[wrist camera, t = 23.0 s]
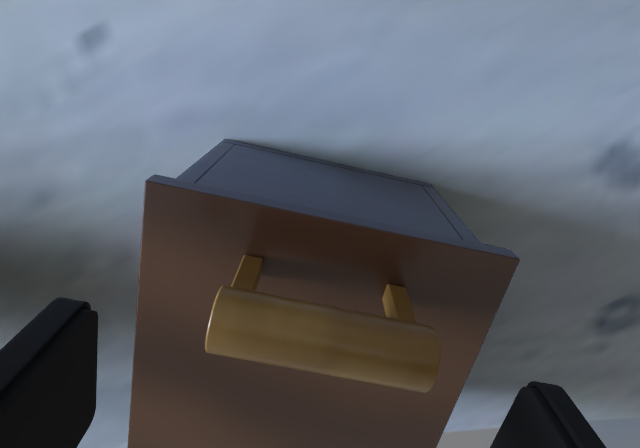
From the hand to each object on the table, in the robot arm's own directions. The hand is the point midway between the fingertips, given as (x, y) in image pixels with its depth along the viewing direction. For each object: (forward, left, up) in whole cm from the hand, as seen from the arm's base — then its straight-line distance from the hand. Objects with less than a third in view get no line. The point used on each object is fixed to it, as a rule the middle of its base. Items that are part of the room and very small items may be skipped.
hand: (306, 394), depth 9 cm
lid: (+6, 0, -6) cm, 9 cm away
